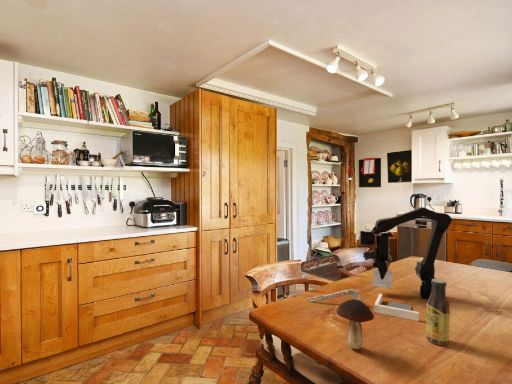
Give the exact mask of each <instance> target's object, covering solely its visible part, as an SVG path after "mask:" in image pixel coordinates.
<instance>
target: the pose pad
mask: <svg viewBox="0 0 512 384" xmlns="http://www.w3.org/2000/svg"><path fill="white" fill-rule="evenodd" d="M386 306H389V307H394V308H399V309H405V310H410V311H412V305H409V304H403V303H398V302H394V301H393V302H392V301H388V302H387V304H386Z"/></svg>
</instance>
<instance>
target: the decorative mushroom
mask: <svg viewBox="0 0 512 384" xmlns="http://www.w3.org/2000/svg"><path fill="white" fill-rule="evenodd" d="M336 315H338V316H339V317H340V318H343V319H345V320H349V322H348V323H349V324H348V328H347V329H348V331H347V344H348V346H349V348H352V349H353V350H360V349H361V348H362V346H363V329H362V324H361V323H366V322H370V321H373V320H374V318H375V316H374V315H375V314H374V313H373V311H372V310H371V308H370V307H369V306H368V305H367V304H366V303H364V301H363V302H361V301H359V300H357V298H356V299H349V300H348V299H347V300H345V301H343V302H342V303H340V304H339V305H338V307H337V309H336Z"/></svg>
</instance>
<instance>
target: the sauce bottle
mask: <svg viewBox="0 0 512 384" xmlns="http://www.w3.org/2000/svg"><path fill="white" fill-rule="evenodd" d="M431 284H432V292H431V295H430V297H429V299H427V302H426V320H425V321H426V322H425V328H426V329H425V334H426V336H425V337H426V339H427V341H429V342H430V343H432V344H434V345H436V346H446V345H448V344H449V340H450V302H449V300H448V298H447V296H446V295H447V293H446V287H447V281H446V280H444V279H440V278H436V279H432V281H431Z"/></svg>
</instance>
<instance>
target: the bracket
mask: <svg viewBox="0 0 512 384" xmlns="http://www.w3.org/2000/svg"><path fill="white" fill-rule="evenodd" d="M344 296H351V299H356V300H359V301H361V302H363V303H364V300H363V298H362V296H361V294H360V292H359V289H354V290H353V289H346V290H342V291H338V292H333V293H329V294H326V295H321V294H319V296H318V295H317V296H313V297H307V298H306V299H307V302H308V303H315V302H319V301H324V300H328V299H334V298H339V297H344ZM358 297H359V299H357V298H358ZM313 299H314V300H313ZM351 299H350V300H351Z"/></svg>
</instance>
